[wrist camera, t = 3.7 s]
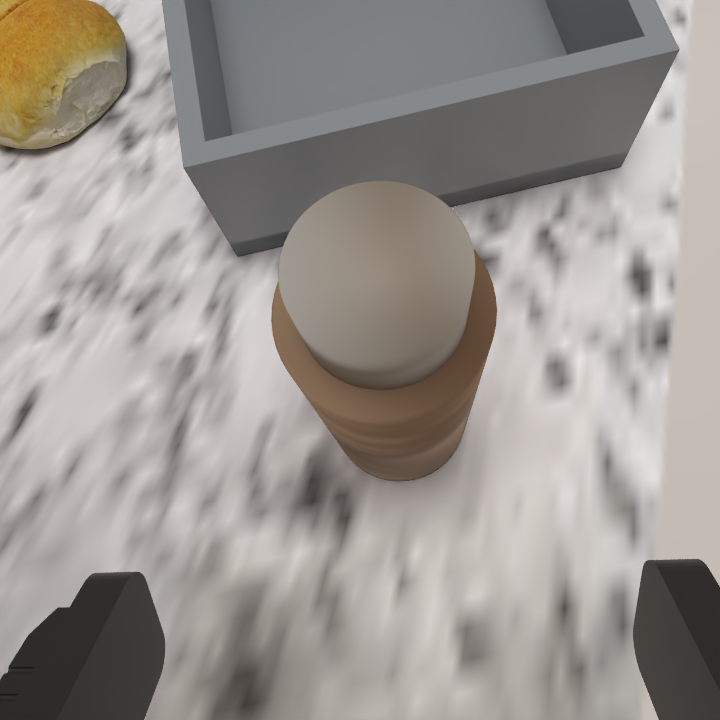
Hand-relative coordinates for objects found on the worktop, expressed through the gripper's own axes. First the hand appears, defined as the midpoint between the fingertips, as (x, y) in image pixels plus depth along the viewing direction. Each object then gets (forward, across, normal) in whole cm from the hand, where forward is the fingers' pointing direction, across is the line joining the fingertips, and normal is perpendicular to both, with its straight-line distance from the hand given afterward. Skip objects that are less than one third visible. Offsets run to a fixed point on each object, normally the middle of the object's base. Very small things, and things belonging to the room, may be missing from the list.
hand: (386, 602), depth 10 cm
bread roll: (+25, +16, -8) cm, 31 cm away
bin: (+24, 0, -8) cm, 25 cm away
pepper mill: (+12, 0, +4) cm, 13 cm away
